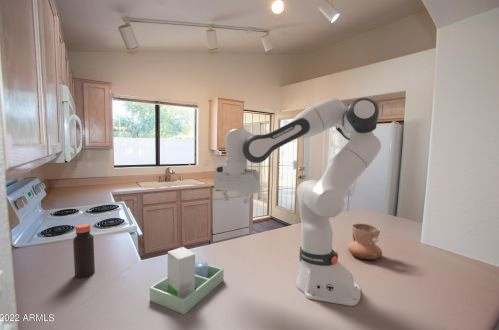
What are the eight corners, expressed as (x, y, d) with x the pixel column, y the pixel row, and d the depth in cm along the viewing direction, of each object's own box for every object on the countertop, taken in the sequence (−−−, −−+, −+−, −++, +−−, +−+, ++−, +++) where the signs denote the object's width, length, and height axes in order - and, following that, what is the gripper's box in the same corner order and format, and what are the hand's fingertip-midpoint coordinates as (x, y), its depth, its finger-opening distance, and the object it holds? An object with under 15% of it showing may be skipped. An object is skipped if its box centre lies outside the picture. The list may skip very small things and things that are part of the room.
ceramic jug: (390, 263, 109) (391, 232, 108) (359, 264, 108) (360, 232, 107) (367, 248, 127) (368, 221, 126) (340, 248, 126) (341, 221, 125)
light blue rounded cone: (202, 284, 91) (202, 269, 91) (191, 281, 93) (191, 266, 93) (210, 278, 96) (210, 263, 95) (199, 275, 98) (199, 260, 98)
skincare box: (167, 294, 86) (166, 251, 85) (184, 287, 90) (183, 245, 89) (178, 305, 80) (178, 259, 79) (196, 296, 84) (195, 253, 83)
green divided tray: (223, 280, 95) (223, 269, 95) (184, 314, 75) (183, 300, 75) (193, 271, 102) (193, 260, 101) (149, 300, 82) (149, 287, 82)
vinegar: (98, 272, 101) (96, 224, 99) (80, 280, 95) (77, 229, 93) (89, 268, 104) (87, 222, 103) (71, 275, 98) (69, 226, 97)
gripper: (262, 169, 98) (262, 203, 99) (220, 167, 107) (220, 198, 108) (255, 170, 92) (255, 206, 93) (211, 168, 101) (211, 200, 102)
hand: (236, 202), depth 101 cm, fingers open, 8 cm apart
